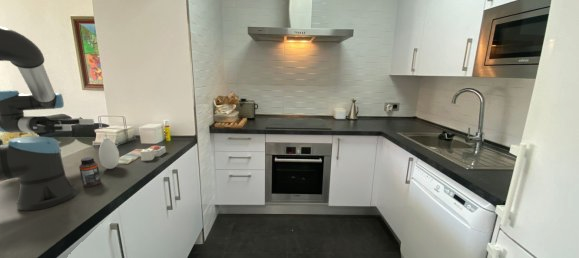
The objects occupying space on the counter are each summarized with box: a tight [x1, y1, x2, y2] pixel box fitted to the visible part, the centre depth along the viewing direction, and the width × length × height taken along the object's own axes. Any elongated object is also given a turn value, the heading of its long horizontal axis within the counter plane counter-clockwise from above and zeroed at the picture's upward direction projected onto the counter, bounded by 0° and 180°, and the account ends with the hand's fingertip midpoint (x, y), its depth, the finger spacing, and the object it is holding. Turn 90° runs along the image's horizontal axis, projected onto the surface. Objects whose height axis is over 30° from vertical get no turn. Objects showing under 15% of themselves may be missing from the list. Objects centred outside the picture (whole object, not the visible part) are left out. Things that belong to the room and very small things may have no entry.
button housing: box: [147, 145, 167, 158], centre depth 140 cm, size 8×8×4 cm
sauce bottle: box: [98, 132, 120, 170], centre depth 117 cm, size 8×8×18 cm
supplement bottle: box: [78, 156, 102, 188], centre depth 101 cm, size 6×6×11 cm
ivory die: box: [140, 148, 155, 162], centre depth 132 cm, size 5×5×5 cm
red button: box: [149, 145, 160, 150], centre depth 140 cm, size 5×5×3 cm
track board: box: [116, 148, 144, 166], centre depth 136 cm, size 24×9×1 cm, turn 2°
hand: (82, 124), depth 115 cm, fingers open, 13 cm apart
